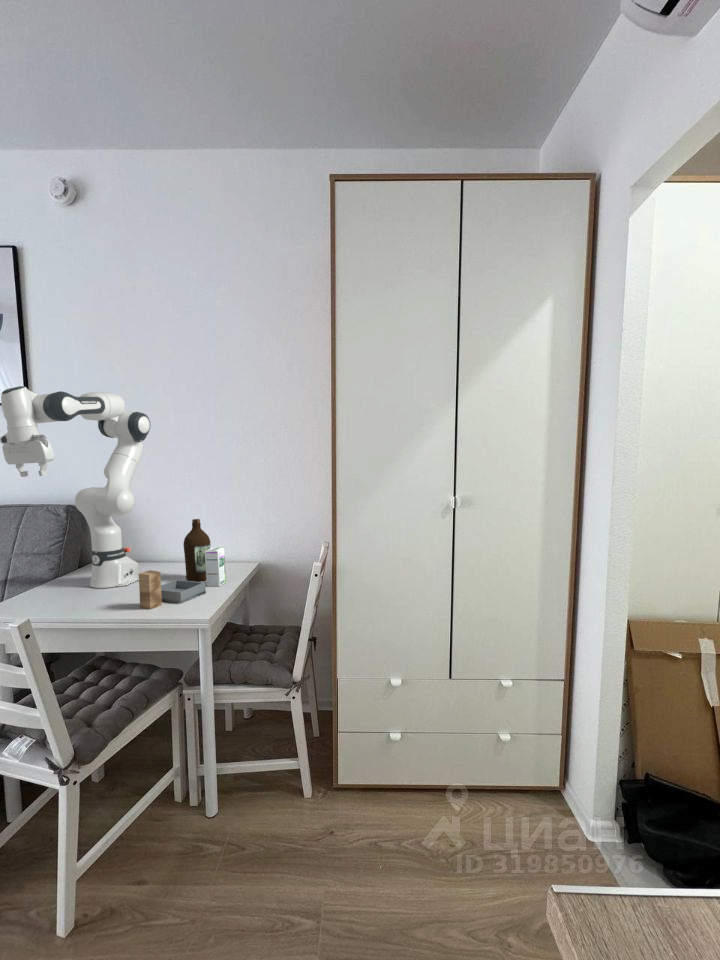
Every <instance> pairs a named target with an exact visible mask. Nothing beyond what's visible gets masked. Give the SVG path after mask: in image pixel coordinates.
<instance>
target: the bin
mask: <svg viewBox="0 0 720 960" xmlns="http://www.w3.org/2000/svg"><path fill="white" fill-rule="evenodd" d="M206 586H207V584H206V582H204V581H202V582H194V581H187V579H186V580H185V579H184V580H183V579H175V580H172V581H168V582H166V583H163V584H161V597H162V602H167V603H173V602H174V603H175V604H180V603H181V604H184V603H186V602H188V601H191V600H193V599H195V597H196V598H197V596H198V597H200V596H202V594H203V595H205V594H207V590H206V589H207V588H206ZM192 598H193V599H192ZM190 599H191V600H190ZM185 601H186V602H185ZM183 602H184V603H183Z"/></svg>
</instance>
